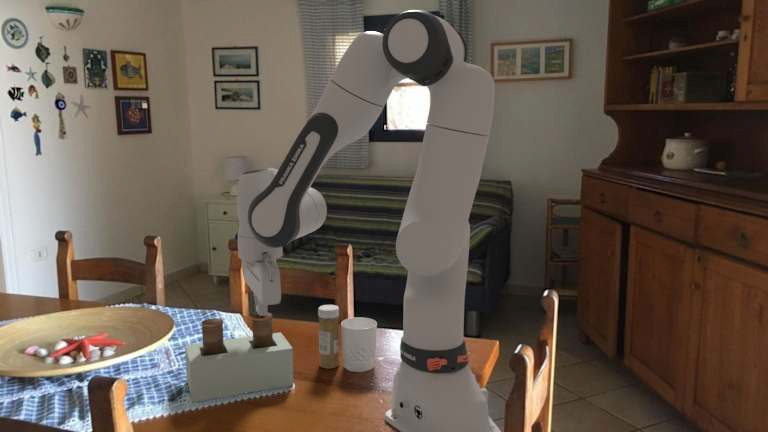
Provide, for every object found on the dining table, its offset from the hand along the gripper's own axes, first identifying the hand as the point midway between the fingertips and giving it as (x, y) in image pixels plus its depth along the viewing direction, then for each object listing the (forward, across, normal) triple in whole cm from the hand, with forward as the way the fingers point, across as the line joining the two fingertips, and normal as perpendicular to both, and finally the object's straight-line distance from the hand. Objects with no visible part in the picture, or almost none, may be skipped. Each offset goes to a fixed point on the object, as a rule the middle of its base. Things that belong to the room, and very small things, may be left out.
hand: (261, 313), depth 125 cm
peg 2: (+8, 0, 0) cm, 8 cm away
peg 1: (+8, 0, +10) cm, 13 cm away
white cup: (+15, -1, -21) cm, 26 cm away
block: (+14, 0, +5) cm, 15 cm away
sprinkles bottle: (+15, +2, -15) cm, 21 cm away
